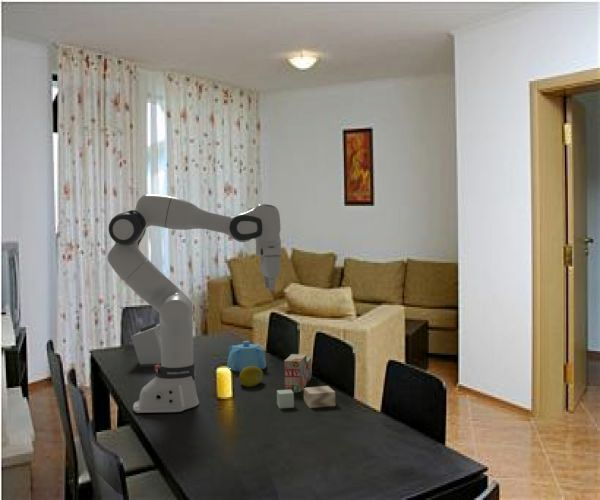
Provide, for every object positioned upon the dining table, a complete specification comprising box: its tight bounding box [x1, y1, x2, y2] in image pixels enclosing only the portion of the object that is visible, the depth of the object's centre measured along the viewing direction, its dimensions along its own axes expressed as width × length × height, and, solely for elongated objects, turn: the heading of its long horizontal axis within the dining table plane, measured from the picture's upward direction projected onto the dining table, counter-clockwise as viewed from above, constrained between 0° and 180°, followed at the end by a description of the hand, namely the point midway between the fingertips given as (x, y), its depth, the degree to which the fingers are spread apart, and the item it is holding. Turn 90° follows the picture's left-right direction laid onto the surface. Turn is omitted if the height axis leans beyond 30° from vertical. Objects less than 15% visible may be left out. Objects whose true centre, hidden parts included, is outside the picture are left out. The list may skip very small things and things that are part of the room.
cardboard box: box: [283, 353, 313, 393], centre depth 238 cm, size 21×6×12 cm, turn 168°
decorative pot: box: [226, 340, 267, 373], centre depth 263 cm, size 16×16×14 cm
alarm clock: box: [130, 322, 161, 368], centre depth 277 cm, size 20×16×20 cm
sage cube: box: [276, 389, 295, 409], centre depth 211 cm, size 5×5×5 cm
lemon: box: [238, 366, 264, 388], centre depth 239 cm, size 11×8×8 cm
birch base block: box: [303, 385, 336, 409], centre depth 213 cm, size 9×9×5 cm
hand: (269, 289), depth 217 cm, fingers open, 8 cm apart
